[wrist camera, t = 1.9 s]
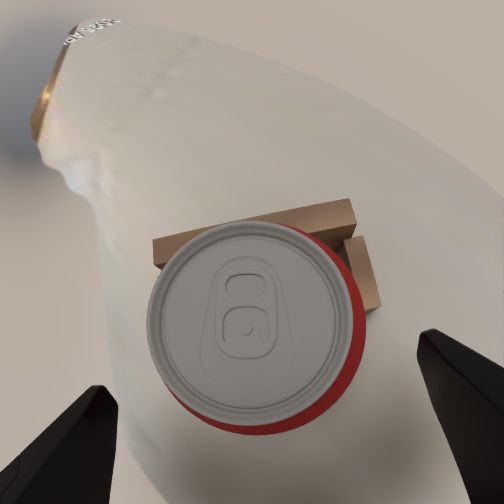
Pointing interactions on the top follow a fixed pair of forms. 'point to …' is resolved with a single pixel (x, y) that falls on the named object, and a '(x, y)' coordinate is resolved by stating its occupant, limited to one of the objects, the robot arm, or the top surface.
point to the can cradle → (314, 223)
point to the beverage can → (256, 327)
